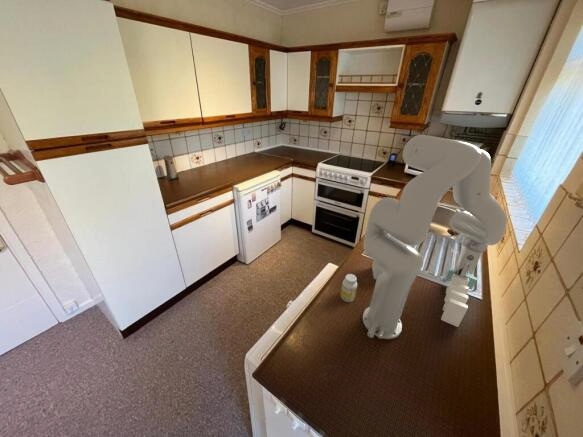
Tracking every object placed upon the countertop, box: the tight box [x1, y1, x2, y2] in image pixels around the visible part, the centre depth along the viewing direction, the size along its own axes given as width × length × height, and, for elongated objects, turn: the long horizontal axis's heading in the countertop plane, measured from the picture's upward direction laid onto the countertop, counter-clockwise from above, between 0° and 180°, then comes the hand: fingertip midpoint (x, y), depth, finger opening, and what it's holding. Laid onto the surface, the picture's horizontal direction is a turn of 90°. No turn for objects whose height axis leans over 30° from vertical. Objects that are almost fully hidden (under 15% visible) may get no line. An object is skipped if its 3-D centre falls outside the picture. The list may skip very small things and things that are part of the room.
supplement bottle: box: [340, 273, 358, 303], centre depth 88 cm, size 5×5×10 cm
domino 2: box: [445, 274, 469, 294], centre depth 90 cm, size 2×5×9 cm, turn 55°
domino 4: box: [442, 289, 469, 312], centre depth 83 cm, size 2×5×9 cm, turn 55°
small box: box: [371, 260, 386, 280], centre depth 100 cm, size 8×6×10 cm
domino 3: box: [443, 281, 470, 303], centre depth 86 cm, size 2×5×9 cm, turn 55°
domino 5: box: [440, 298, 469, 328], centre depth 79 cm, size 2×5×9 cm, turn 55°
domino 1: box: [444, 267, 478, 290], centre depth 93 cm, size 2×5×9 cm
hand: (457, 280), depth 94 cm, fingers closed on domino 1, 1 cm apart
